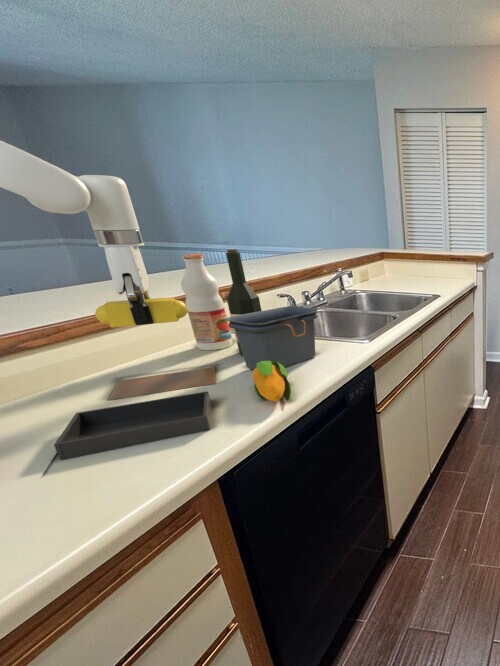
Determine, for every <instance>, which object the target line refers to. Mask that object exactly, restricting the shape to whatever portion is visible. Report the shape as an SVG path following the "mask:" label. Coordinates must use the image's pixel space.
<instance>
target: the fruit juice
mask: <svg viewBox="0 0 500 666" xmlns="http://www.w3.org/2000/svg"><path fill="white" fill-rule="evenodd" d="M203 255H204V254H202V253H186V254H182V255H181V257H182V261H183V262H184V264H185V272H184V276H183V277H182V279H181V281H180V287H181V290H182V292H183V293H184V295H185V305H186V306H187V309H188V312H187V314H188V317H189V321H190V326H191V329H192V333H193V335H194V340H195V343H196V346H197V348H198V349H199V350H201V351H216V350H223V349H227V348H230V347H232V346H233V344H234V342H233V337H232V333H231V328H230V327H229V321H227V320H226V318H228V316H227V313H226V308H225V304H224V300H223V298H222V297H221V296H220V293H219V289H220V286H219V282H218V281H217V279H216V278H215V277H214V276H213V275H212V274H210V272H209V271H208V270H207V268H206V266H205V264H204V256H203Z"/></svg>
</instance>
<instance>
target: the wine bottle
mask: <svg viewBox="0 0 500 666" xmlns="http://www.w3.org/2000/svg"><path fill="white" fill-rule="evenodd" d="M225 255H226V259H227V264H228V269H229V274H230V277H231V282H232V284H231V286H230V289H229V291H228V293H227V296H226V297H225V299H226V304H227V307H228V311H229V315H230V316H229V317H232V316H237V315H243V314H248V313H253V312H259V311H263V310H262V306H261V300H260V297H259V295H258V294H257V293H256V292H255V291H254V289H252V287H251V286H250V285H249V284H248V283H247V281H246V280H247V279H246V275H245V271H244V267H243V262H242V257H241V252H239V251H238V249H237V248H235V249H234V248H233V249H231V248H229V249H227V250H226V252H225ZM233 332H234V336H235V341H236V345H237V348H238V353H239V354H240V356H241V357H243V353H242V350H241V347H240V344H239V341H238V338H237V335H236V332H235V329H233Z"/></svg>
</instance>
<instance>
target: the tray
mask: <svg viewBox="0 0 500 666" xmlns="http://www.w3.org/2000/svg"><path fill="white" fill-rule="evenodd" d="M211 425H212V400H211V397H210V393H209V391H208V390H207V391H206V390H205V391H200V392H195V393H188V394H182V395H176V396H169V397H163V398H158V399H152V400H145V401H139V402H133V403H128V404H121V405H116V406H110V407H101V408H97V409H91V410H84V411H79V412H78V411H77V412H76V413H75V414H74V415H73V416H72V419H70V421H69V422H68V424H67V425H66V427H65V428H64V430H63V431H62V432H61V434H60V436H59V437H58V438H57V440H56V441H55V442H54V444H53V446H54V449H55V451H56V453H57V455H58V457H59V459H60V461H64V460H65V461H66V460H69V459H76V458H79V457H84V456H90V455H95V454H100V453H104V452H110V451H113V450H119V449H124V448H130V447H134V446H139V445H144V444H148V443H153V442H158V441H163V440H167V439H174V438H178V437H182V436H187V435H192V434H197V433H202V432H208V431H211Z"/></svg>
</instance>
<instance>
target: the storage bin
mask: <svg viewBox="0 0 500 666" xmlns="http://www.w3.org/2000/svg"><path fill="white" fill-rule="evenodd" d="M318 311H319V309H317V308H312V307H306V306H298V305H287V306H281V307H276V308H275V307H274V308H271V309H265V310H262V311H259V312H253V313H248V314H243V315H237V316H232V317H231V316H229V317H228V316H227V318H226V320H227V321H228V324H229V328H230V329H233V330H234V329H235V332H236V335H237V338H238V341H239V344H240V347H241V350H242V353H243V356H242V357H243V360H244V362H245V366H246V368H247V369H249V370H253V371H254V369H255V368H256V367H257V365H256V364H257V363H259V362H261V361H271V363H273V362H278V363H280V364H281V365H283V366H284V368H286V367H289V366H292V365H295V364H298V363H301V362H303V361H306V360H310V359H312V358H314V357H316V335H315V334H316V333H315V319H318V314H317V312H318ZM235 332H234V333H235Z"/></svg>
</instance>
